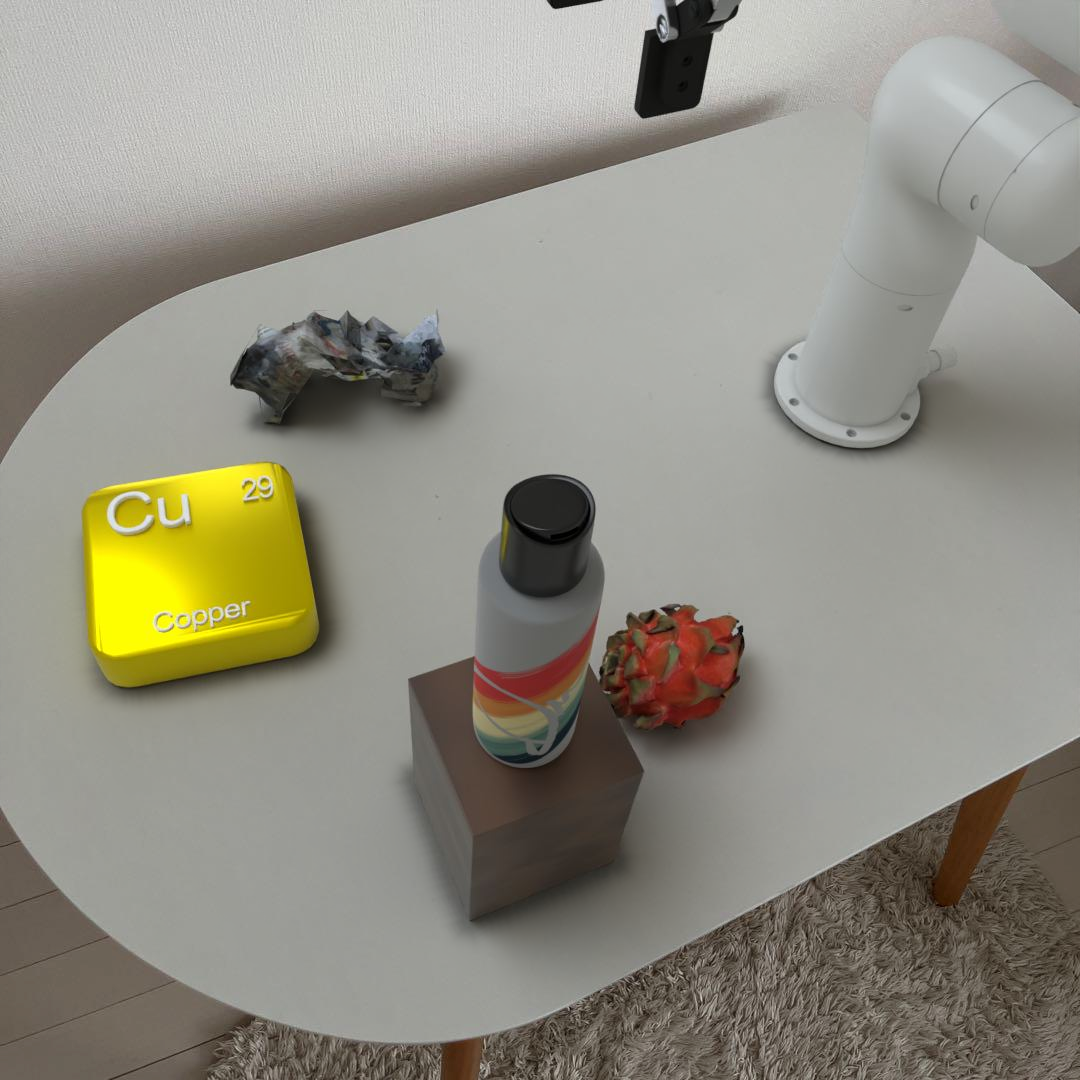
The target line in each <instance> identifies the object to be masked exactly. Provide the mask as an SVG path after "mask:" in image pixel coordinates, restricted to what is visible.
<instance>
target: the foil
mask: <svg viewBox="0 0 1080 1080" xmlns="http://www.w3.org/2000/svg"><path fill="white" fill-rule="evenodd" d="M320 311H323V312H324V311H326V309H314V310H313V311H312V312H310V313H309V314H308V315H307V317H306V319H303V320H301V321H298V322H295V321H293V322H292V323H291V324H289V325H287V326H285V327H284V328H281V329H278V330H277V329H275V328H271V327H268V326H265V325H263V326H262V323H260V324H259V325H258V326H257V329H256V330H255V332H254V333H256V332H257V339H256V341H255V342H254V343H252V344H251V345H250V346H249V347H248V345H249V344H250V342H251V340H249V341H248V343H247V345H246V346H245V348H244V349H243V351H242V353H241V354H240V355H239V358H238V360H237V362H236V363H235V365H234V367H233V369H232V371H231V372H230V375H229V376H230V377H229V384H230V385H229V386H230V387H232V386H233V387H234V388H235V390H245V391H248V392H252V393H255V394H256V395H257V396H258V400H259V406H260V407H259V408H260V413H261V415H263V411H262V401H263V402H264V404H265V405H267V406H268V407H270V408H271V409H272V410H274V412H275V414H274V415H273V416H271V417H270V418H268V419H267V420H266V421H263V420H264V419H263V418H261V420H262V421H263V424H268V423H276V424H278V425H280V424H281V422H282V419H283V416H284V413H285V412H286V411H287V409H288V407H289V406H290V405H291V404H292V402H293V401H294V399H292V400H291V401H290V402H288V404H287V405H286V402H287V400H288V398H289V395H290V393H292V394H296V395H295V396H294V398H296V397H297V396H298V394H299V393H300V391H301V390H302V389H303V387H304V386H305V384H306V383H307V382H308V380H309V379H310V378H311V376H312V375H313V373H314V372H315V371H316V370H318V371H321V372H324V373H323V374H320V376H321V377H329V376H335V380H336V379H337V380H338V378H339V379H341V380H342V381H347V382H351V381H359V380H368V379H381V380H382V381H383V382H382V385H381V388H380V396H381V397H383V398H391V399H396V400H402V401H409V402H414V403H423V402H427V401H428V400H430V399H431V398H432V397H433V391H434V390H435V389H434V388H435V386H436V383H437V382H438V378H439V372H438V365H437V363H436V360H438V359H439V358H441V357H442V356H443V355H445V354H446V349H445V346H444V344H443V340H442V338H441V335H440V333H439V323H440V316H439V310H438V309H436V310H435V314H431V315H428V316H427V317H423V319H422V322H421V324H420V325H418V326H417V327H415V328H413V329H412V331H411V332H410V333H409V334H407V336H405V337H404V338H401V337H398V336H399V332H398V331H396V330H395V329H394V328H392V327H390V326H389V325H387V324H386V323H385V322H383V321H381V320H380V319H378V318H377V317H375V316H374V315H373V316H371V317H370V318H369V319H368V320H367V321H366V322H363V320H361V319H359V318H357V317H356V316H353V315H352V314H351V312H350V311H349V310H348V309H346V311H345V312H344V313H343V314H342V315H341V316H340V318H339V319H333V318H330V317H327V316H323V315H321V314H320V313H318V312H320ZM261 326H262V327H261ZM253 337H254V335H251V338H253ZM379 344H387V345H390V348H389V349H388V351H387V350H386V349H384V348H383V347H382V346H381V345H379ZM342 373H355V374H358V375H348V374H345V375H344V374H342ZM337 377H338V378H337ZM261 400H262V401H261ZM285 405H286V406H285Z"/></svg>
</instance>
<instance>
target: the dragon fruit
mask: <svg viewBox="0 0 1080 1080" xmlns="http://www.w3.org/2000/svg"><path fill="white" fill-rule="evenodd" d="M676 608H677V609H676ZM659 609H660V610H661V611H662V612H664V613H665V614H662V613H660V612H659V611H657V609H650V610H648V611H641V612H640V613H639V614H638V616H637V615H636V614H635V613H633V612H631V611H629V612H627V614H626V616H625V618H626V619H625V624H626V626H627V629H625V630H624V629H620V630H617V631H615V632H614V633H613V634H612V635H608V637H607V639H606V645H605V650H606V651H605V653H604V654H603V657H602V663H601V666H600V667H599V670H598V673H599V677H600V678H599V679H598V681H599V683H600V685H601V687H602V689H603V691H604V693H605V695H606V697H607V699H608V701H609V703H610V705H611V707H612V709H613V710H614V712H615V714H616V716H617V718H618V719H622V720H623V719H629V718H632V717H633V716H634V715H636V716H638V718H637V719H635V720H634V721H633V722H632V724H633V726H634V729H636V730H639V731H645V732H649V731H651V730H653V729H655V728H656V727H659V726H662V725H663V723H665V724H669V725H672V728H673V729H674V730H678V731H682V730H683V729H684V728H685V727H686V723H687V720H703V719H705V718H709V717H711V716H713V715H714V714H716V713H717V712H718V711H720V709H721V708H722V707H723V706H724V704H725V701H726V700H727V699H728V697H729V695H730V694H731V693H732V691H733V689H734V688H735V687H736V686H737V685H738V684H739V682H740V680H741V675H738V672H739V665H740V661H741V659H742V656H743V654H744V651H745V648H746V646H745V645H746V643H745V636H744V634H743V633H744V626H743V624H741V625H739V626H737V624H739V623H740V620H739V619H737V618H736V617H734V616H733V615H731V613H730V612H728V614H725V615H721V616H718V617H711V618H708V619H706V620H701V621H697V620H696V619H695V615H696V614H697V613H698V612H699V611H700V609H699V608H697V607H696V606H694V605H692V604H682V605H681V604H680V603H668V604H667V605H664V606H661V607H659ZM734 629H737V633H736V634H733V631H734ZM609 692H610V693H609Z"/></svg>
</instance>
